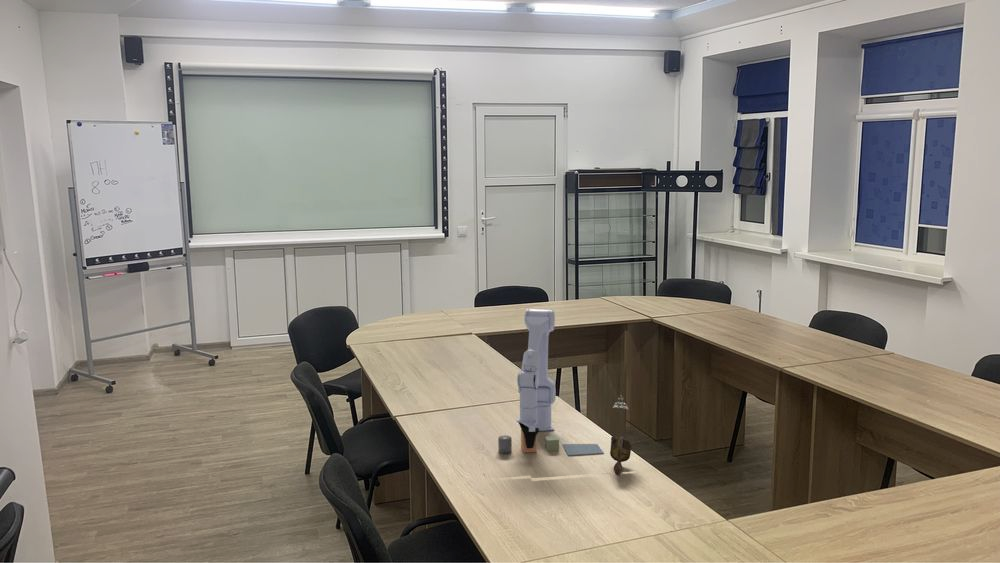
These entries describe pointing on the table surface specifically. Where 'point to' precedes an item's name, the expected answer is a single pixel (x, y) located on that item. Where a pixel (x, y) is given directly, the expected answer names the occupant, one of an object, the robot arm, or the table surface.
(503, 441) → the dark grey cylinder
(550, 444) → the olive cube
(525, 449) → the terracotta block
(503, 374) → the table surface
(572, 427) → the table surface
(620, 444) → the brown piece
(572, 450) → the slate mat
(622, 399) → the house of cards
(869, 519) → the table surface
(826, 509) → the table surface
